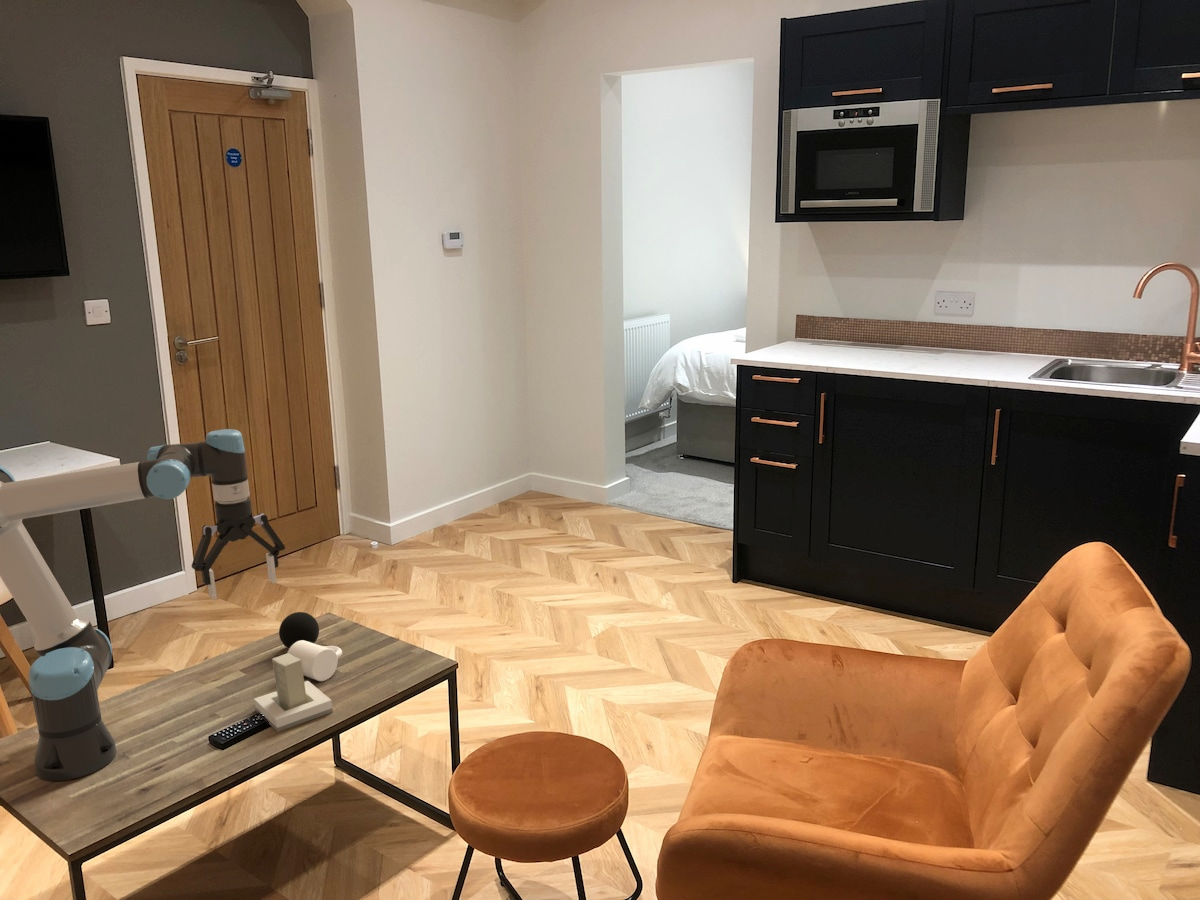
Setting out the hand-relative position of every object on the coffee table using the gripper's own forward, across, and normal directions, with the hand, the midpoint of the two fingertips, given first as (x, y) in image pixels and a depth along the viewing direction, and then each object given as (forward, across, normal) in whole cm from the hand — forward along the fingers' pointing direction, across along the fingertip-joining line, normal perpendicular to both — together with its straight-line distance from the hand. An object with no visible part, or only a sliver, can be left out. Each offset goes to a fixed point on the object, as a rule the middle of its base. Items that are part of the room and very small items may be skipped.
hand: (243, 589), depth 220 cm
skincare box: (+28, +5, -9) cm, 30 cm away
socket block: (+29, +5, -9) cm, 30 cm away
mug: (+29, +18, +6) cm, 35 cm away
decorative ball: (+29, +20, +22) cm, 41 cm away
